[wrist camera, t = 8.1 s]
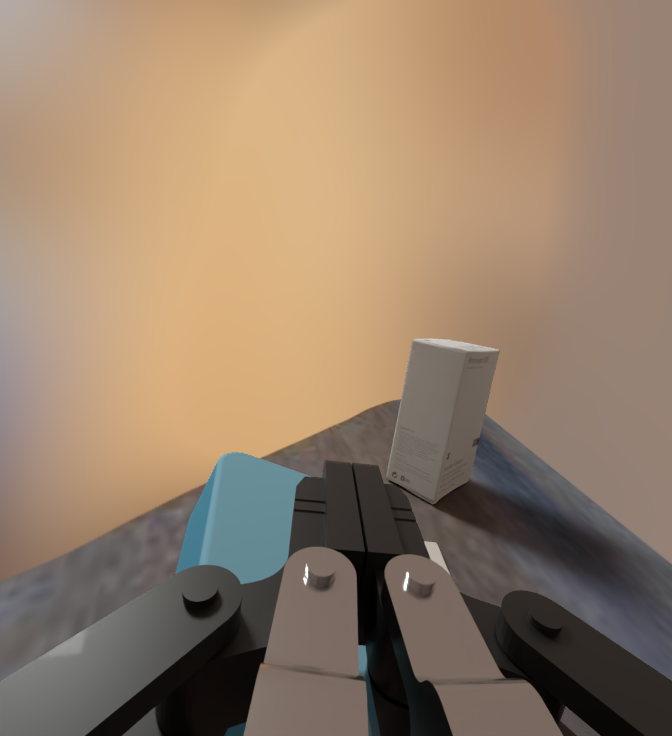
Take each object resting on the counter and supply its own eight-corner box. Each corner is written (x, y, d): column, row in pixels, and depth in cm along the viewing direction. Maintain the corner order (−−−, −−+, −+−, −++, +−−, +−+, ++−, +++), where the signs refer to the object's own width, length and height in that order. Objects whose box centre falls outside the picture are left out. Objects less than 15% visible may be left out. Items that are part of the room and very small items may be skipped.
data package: (431, 777, 16) (360, 554, 27) (491, 701, 15) (391, 503, 26) (131, 749, 12) (191, 505, 23) (186, 646, 11) (222, 443, 23)
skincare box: (434, 507, 36) (470, 352, 33) (381, 478, 40) (409, 336, 36) (471, 480, 42) (505, 348, 39) (422, 458, 46) (449, 335, 43)
